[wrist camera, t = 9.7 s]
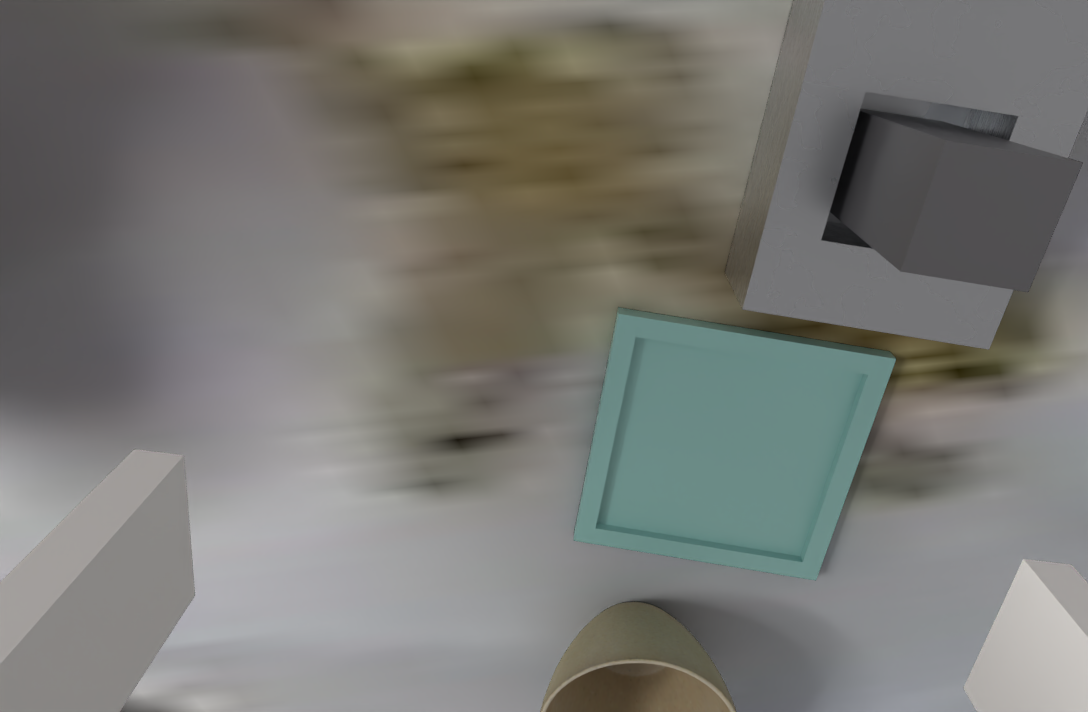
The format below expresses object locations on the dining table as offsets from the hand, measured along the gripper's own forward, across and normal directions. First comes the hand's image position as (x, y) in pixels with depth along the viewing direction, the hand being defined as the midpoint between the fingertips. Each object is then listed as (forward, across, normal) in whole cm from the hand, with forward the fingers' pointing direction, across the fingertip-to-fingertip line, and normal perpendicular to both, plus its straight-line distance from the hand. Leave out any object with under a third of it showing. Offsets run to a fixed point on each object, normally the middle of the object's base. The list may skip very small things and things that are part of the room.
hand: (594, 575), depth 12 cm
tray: (+24, +9, -11) cm, 28 cm away
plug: (+24, +12, +4) cm, 27 cm away
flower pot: (+25, +6, -24) cm, 35 cm away
